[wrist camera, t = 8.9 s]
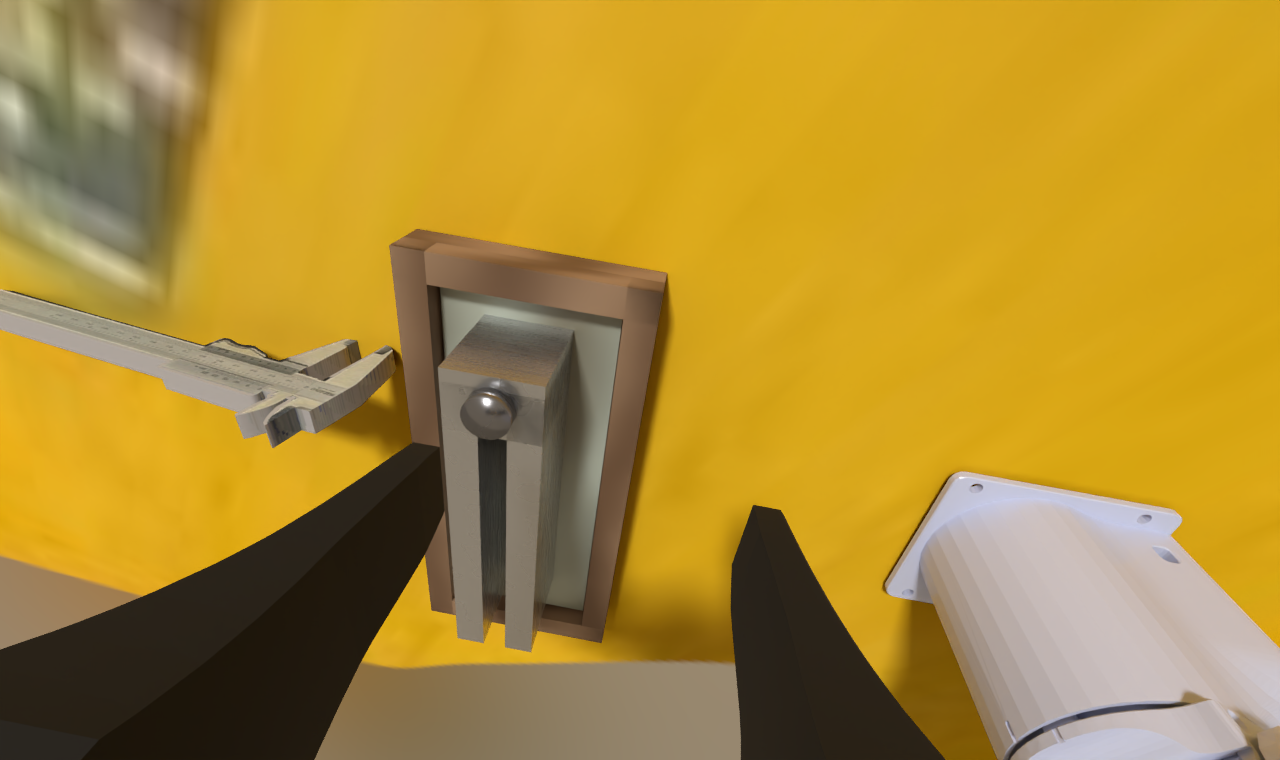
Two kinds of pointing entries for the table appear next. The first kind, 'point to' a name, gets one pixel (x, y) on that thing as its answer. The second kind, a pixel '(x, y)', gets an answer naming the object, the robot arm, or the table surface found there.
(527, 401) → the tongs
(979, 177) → the table surface
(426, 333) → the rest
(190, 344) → the caliper
